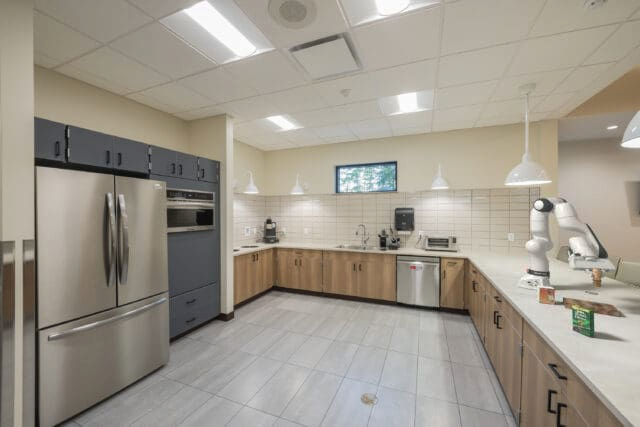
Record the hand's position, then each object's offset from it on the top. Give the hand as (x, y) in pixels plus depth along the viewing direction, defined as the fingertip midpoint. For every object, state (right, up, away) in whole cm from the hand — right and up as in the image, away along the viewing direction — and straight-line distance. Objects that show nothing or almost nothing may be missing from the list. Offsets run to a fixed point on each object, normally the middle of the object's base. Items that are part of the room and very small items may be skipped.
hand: (597, 276), depth 151 cm
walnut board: (-1, -21, +4) cm, 22 cm away
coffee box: (-36, -22, -26) cm, 49 cm away
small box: (-17, -21, +16) cm, 32 cm away
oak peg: (0, -6, 0) cm, 6 cm away
